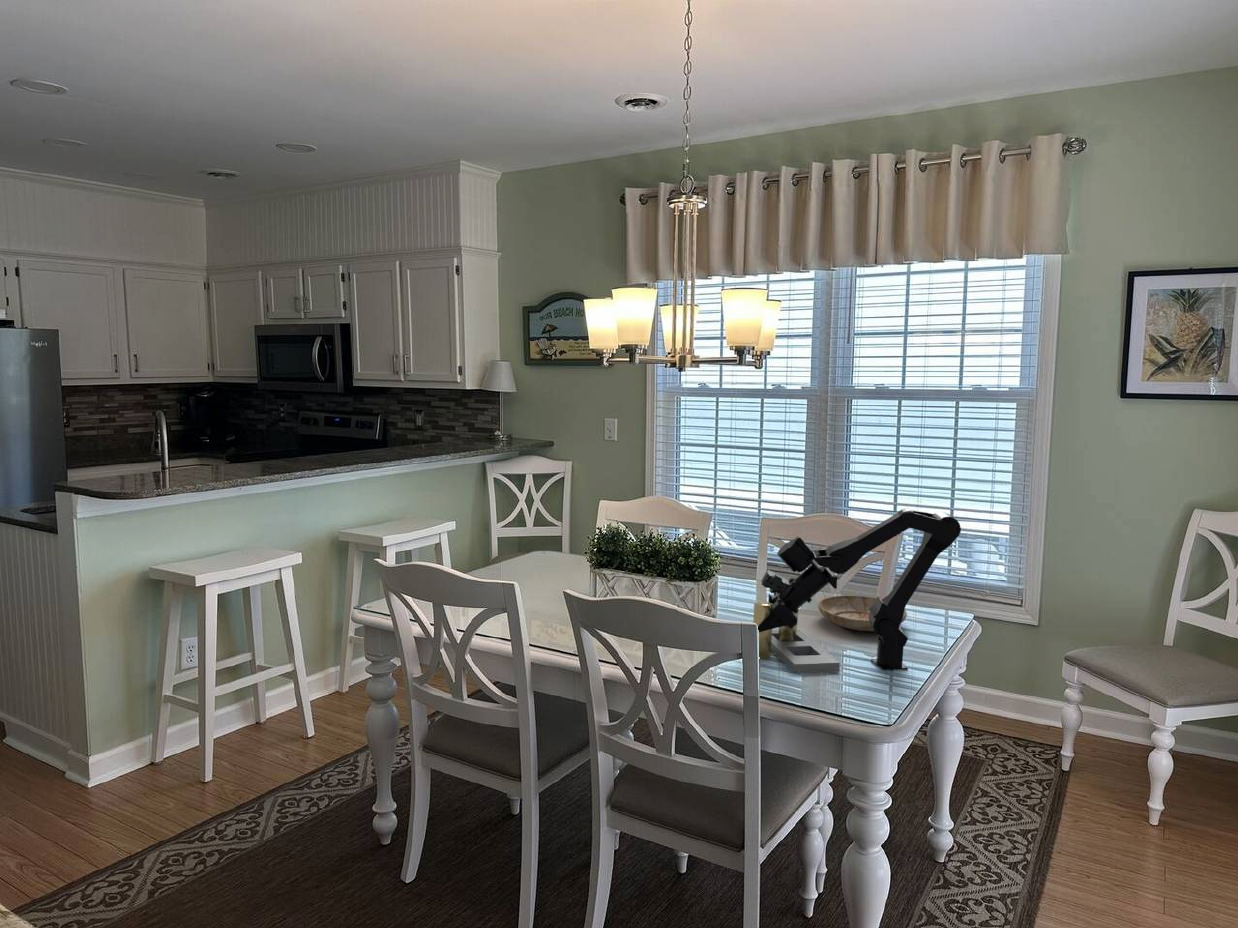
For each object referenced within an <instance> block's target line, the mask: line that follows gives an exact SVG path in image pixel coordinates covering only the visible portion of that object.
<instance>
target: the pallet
mask: <svg viewBox="0 0 1238 928" xmlns="http://www.w3.org/2000/svg"><path fill="white" fill-rule="evenodd" d="M778 633H779V629H777V630H775V629H772V640H771V653H774V655H775V656H776V657H777V658H778V659H779V660H780V661H782V663H784V665H786V666H787V667H788V668H789V669H790V670H791V672H793V673H797V674H798V673H799V674H801V673H819V672H821V673H822V672H839V671H840V667H841V666H840V665H841V662H840V661H838V659H836V658H835V657H834V656H833V655H831V654H830V653H829V652H828V651H827V650H825V649H824V648H823V647H822V646H820V645H819V644H818V643H816V642H815V640H813V639H812V638H810V637H809V636H808V635H807V634H806V633H804V632H803V631H802V630H801V629H797V640H796V641H794V642H779V641H778Z"/></svg>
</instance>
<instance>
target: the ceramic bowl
mask: <svg viewBox="0 0 1238 928" xmlns="http://www.w3.org/2000/svg"><path fill="white" fill-rule="evenodd" d="M876 598H877V597H873V596H865V595H864V596H863V595H853V594H852V595H851V594H849V595H833V596H829V597H825V598H822V599H821V600H820V601H819V602H818V605H817V607H818V608H817V609H818V610H819V613H820V614H821V616H823V617H824V618H825V619H826V620H828V621H829V622H831V623H833V624H835V625H837V626H840V627H843V628H846V629H850V630H854V631H861V632H875V631H874V629H873V627H872V626H871V624H870V622H869V614H870V611H869V608H871V607H872V606H873V604H874V603H875V600H876ZM907 615H908V613H907V610H906V609H905V610H904V615H903V619H902V621H901V624H903V623H904V621H905V620H906V619H907Z"/></svg>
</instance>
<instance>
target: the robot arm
mask: <svg viewBox="0 0 1238 928" xmlns="http://www.w3.org/2000/svg"><path fill="white" fill-rule="evenodd" d="M908 529H913V530H916V531H920V532H923V535H922V540H921V543H920V545H919V547H918V548H917V550H916V551H915V553H914V554H913V557H912V558H911V560H910V561H909V563H908V564H907V565H906V567H905V569H904V571H902V574H901V575H900V577H899V578H898V580H897V582H896V583H895V585H894V586H893V588H892V589H891V591H889V593H888V594H887V595H886V596H885V597H883V598H881V596H878V595H877V596H876V597H875V598H876V600H875V603H874V604H873V606H872V607H871V608H869V611H870V614H869V622H870V624H871V626H872V627H873V629H874V631H873V632H874V633H875V634H876V635H877V636H878V637H877V649H876V658H870V662H871V663H873V665H875V666H876V667H878V668H879V669H881V670H882V671H898V670H909V667H908V665H906V664H905V663H903V657H904V647H905V646H906V644H907V642H908V636H907V635H906V633H905V632H904V630H903V629H902V628H901V625H902V623H901V621H902V619H903V615H904V610H906V606H907V604H908V602H909V601H910V599H911V598H912V597H913V595H914V593H915V592H916V591H917V589H918V587H919V585H920V584H921V583H922V581H923V579H924V578H925V577H926V575H927V573H928V571H929V570H930V569H931V567H932V565H933V563H934V562H935V561H936V559H937V558H938V556H939V555H940V554H941V553H943V551H945V550H947V549H948V548H950V546H951V545H952V544H953V543H954V542H955V541H956V540H957V539H958V538H959V536H960V535H961V532H962V528H961V524H960V522H959V520H958V519H956V518H955V517H953V516H952V515H951V514H949V513H947V512H945V511H938V512H936V513H929V512H926V511H919V510H913V509H909V508H902V509H900V510H899V511H898V512H897V513H895V514H893V515H892V516H890V517H888V518H886V519H884V520H883V521H881V522H880V523H878V524H876V525H875V526H873V527H872V528H870V529H868V530H865V532H863V533H861V534H859V535H857V536H856V537H852V538H850V539H846V540H842V541H839V542H837V543H835V544H831V545H829V546H828V547H827V548H824V549H822V548H820V549H811V547H809V546H808V545H807V543H805V541H804V540H803V538H802V537H801V536H800V535H798V536H796V537H795V538H793V539H791V540H789V541H788V542H786V543H784V544H783V545H782V546H781V548H780V549H779V550H778V551H777V553H776V555H777V556H778V558H779V559H781V561H782V562H783V563H784V564H785V565H786V566H787V567H788V568H789V569H790V570H791V571H792V572H793V573H796V572H798V573H800V574H799V575H798V576H797V577H791V578H789V579H786V578H784V577H783V576H781V575H780V574H777V573H775V572H773V571H771V570H770V569H767V570H766V571H765V573H764V575H763V577H762V579H761V586H763V587H765V588H766V589H769V592H770V593H771V594H773V595H771V594H768V601H767V602H769V603H772V604H773V606H772V605H771V604H770V612H769V614H768V615H767V616H766V617H765V618H764V619H763V621H762V622H761V623H760V624H759V625H758V630H759V632H763V631H767V630H770V629H772V630H775V629H776V628H778V629H779V627H782V626H788V627H789V628H790V629H792V628H793V627H794V626H795V625H796V624H797V625H798V622H797V615H796V613H797V612H798V613H799V609H801V607H803V605H805V604H806V603H811V602H812V601H813V599H812V598H813V597H814V596H815V595H817V593H818V592H820V591H821V590H822V589H823V588H825V586H827V585H830V586H831V587H832V588H833V589H835V590H836V589H838V580H839V577H838V575H843V574H845V573H847V572H848V571H849V570H851V568H853V567H854V566H855V565H856V564H857V563H858V562H860V560H861V559H862V558H863V557H864V556H865V555H866V554H867V553H870V552H871V551H872V550H873V551H874V550H875V549H876V548H877V547H879V546H882V545H883V544H885V543H886V542H888V541H889V540H891V539H893V538H895V537H897V536H899V535H901V533H904V532H905V531H907V530H908ZM828 569H829V570H828ZM801 572H802V573H801ZM832 573H833V574H832ZM837 574H838V575H837Z"/></svg>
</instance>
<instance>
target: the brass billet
mask: <svg viewBox="0 0 1238 928" xmlns="http://www.w3.org/2000/svg"><path fill="white" fill-rule="evenodd" d="M770 604H771V605H772V606H773V604H772V603H769V602H768V601H755V602H753V620H752V621H753V622H752V624H753V623H756V624H757V625H759V624H760V623H761V622H762V621H763V619H764V618H765V617H766V616H767V615H768V614H769V612H770ZM772 631H773V629H770V630H767V631H763V632H759V657H760V661H766V660H767V661H768V660H770V659H771V656H772V651H771V640H772Z"/></svg>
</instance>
